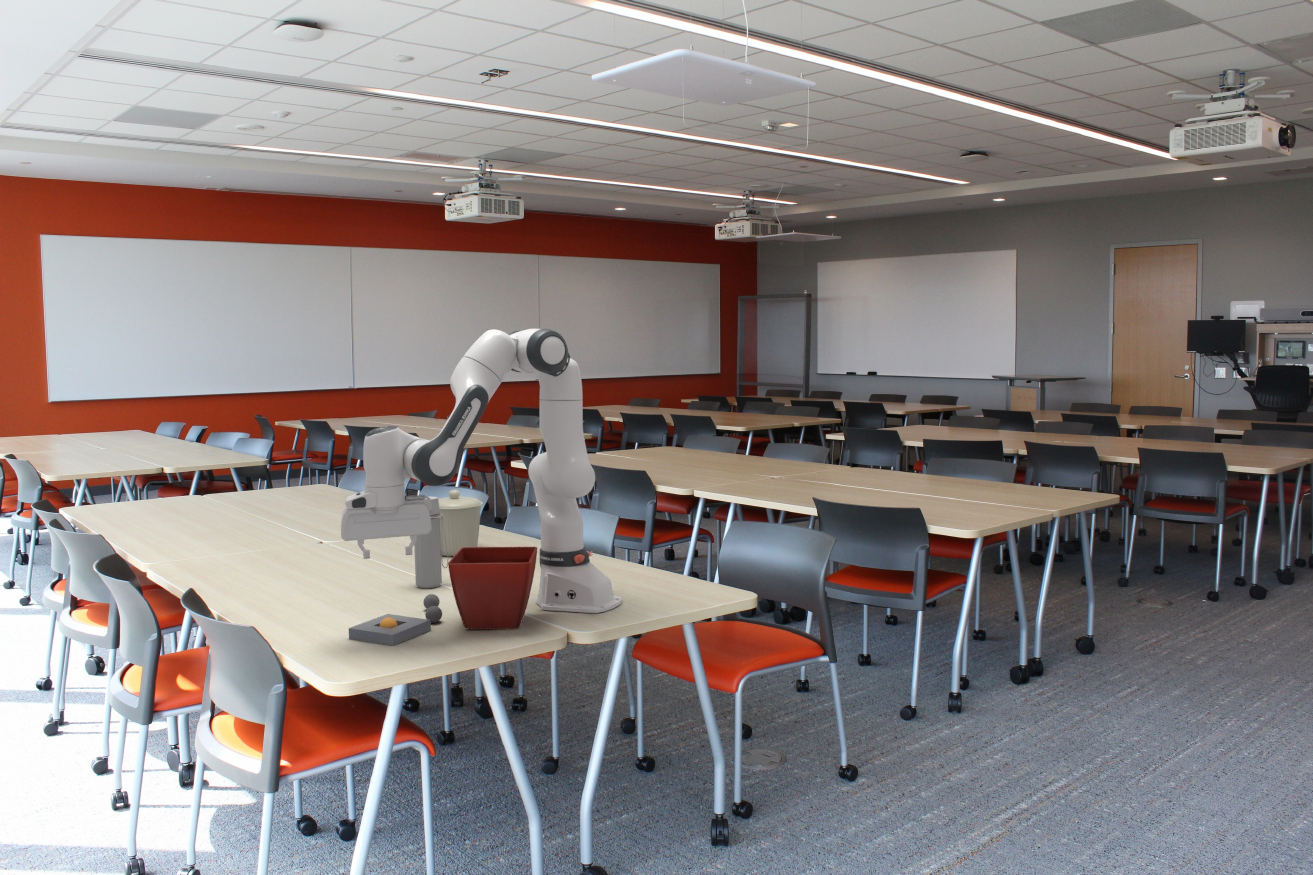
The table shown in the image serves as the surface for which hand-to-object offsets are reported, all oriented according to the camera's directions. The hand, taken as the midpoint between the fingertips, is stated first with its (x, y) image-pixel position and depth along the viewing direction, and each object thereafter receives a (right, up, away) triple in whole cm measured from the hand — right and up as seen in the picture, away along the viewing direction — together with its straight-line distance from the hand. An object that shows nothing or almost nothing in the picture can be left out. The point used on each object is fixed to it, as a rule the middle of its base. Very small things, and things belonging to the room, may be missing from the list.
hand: (388, 556), depth 217 cm
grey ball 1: (+5, -14, +22) cm, 27 cm away
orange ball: (0, -16, +1) cm, 16 cm away
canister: (-4, -11, +91) cm, 91 cm away
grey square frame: (0, -18, +2) cm, 18 cm away
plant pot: (+23, -18, +10) cm, 31 cm away
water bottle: (-1, -15, +48) cm, 50 cm away
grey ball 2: (+8, -15, +11) cm, 20 cm away
